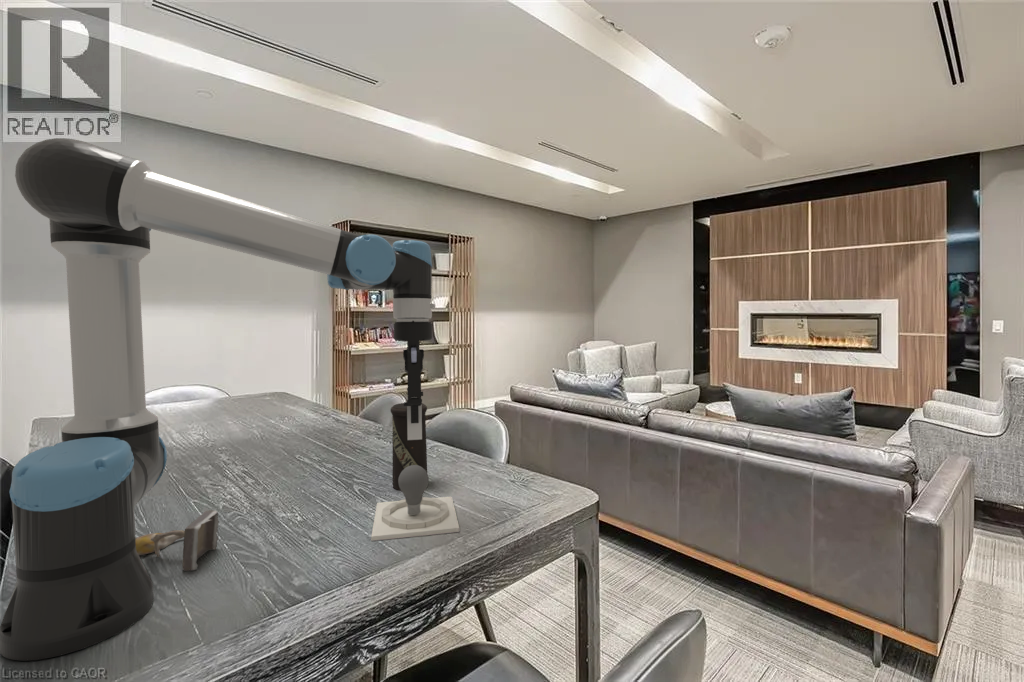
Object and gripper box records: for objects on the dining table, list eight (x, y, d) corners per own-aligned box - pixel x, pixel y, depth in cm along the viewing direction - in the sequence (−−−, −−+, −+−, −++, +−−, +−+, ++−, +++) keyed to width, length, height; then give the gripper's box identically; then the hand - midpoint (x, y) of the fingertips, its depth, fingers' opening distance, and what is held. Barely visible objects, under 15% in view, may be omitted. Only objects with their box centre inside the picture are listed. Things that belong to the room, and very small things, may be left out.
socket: (459, 531, 88) (459, 522, 88) (371, 540, 85) (371, 531, 85) (451, 500, 104) (451, 492, 104) (377, 506, 101) (377, 498, 100)
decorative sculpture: (117, 562, 78) (115, 519, 78) (172, 536, 88) (170, 497, 87) (194, 574, 74) (192, 529, 74) (243, 545, 84) (241, 505, 83)
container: (383, 487, 112) (382, 404, 111) (408, 476, 120) (407, 399, 119) (412, 493, 108) (410, 407, 107) (435, 481, 116) (434, 401, 115)
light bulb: (422, 521, 91) (421, 471, 90) (393, 519, 92) (392, 469, 92) (433, 509, 97) (432, 462, 96) (406, 507, 98) (405, 460, 97)
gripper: (435, 320, 83) (436, 446, 84) (429, 320, 104) (430, 421, 105) (391, 320, 81) (393, 449, 82) (395, 320, 102) (396, 422, 103)
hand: (414, 433), depth 94 cm, fingers open, 9 cm apart
